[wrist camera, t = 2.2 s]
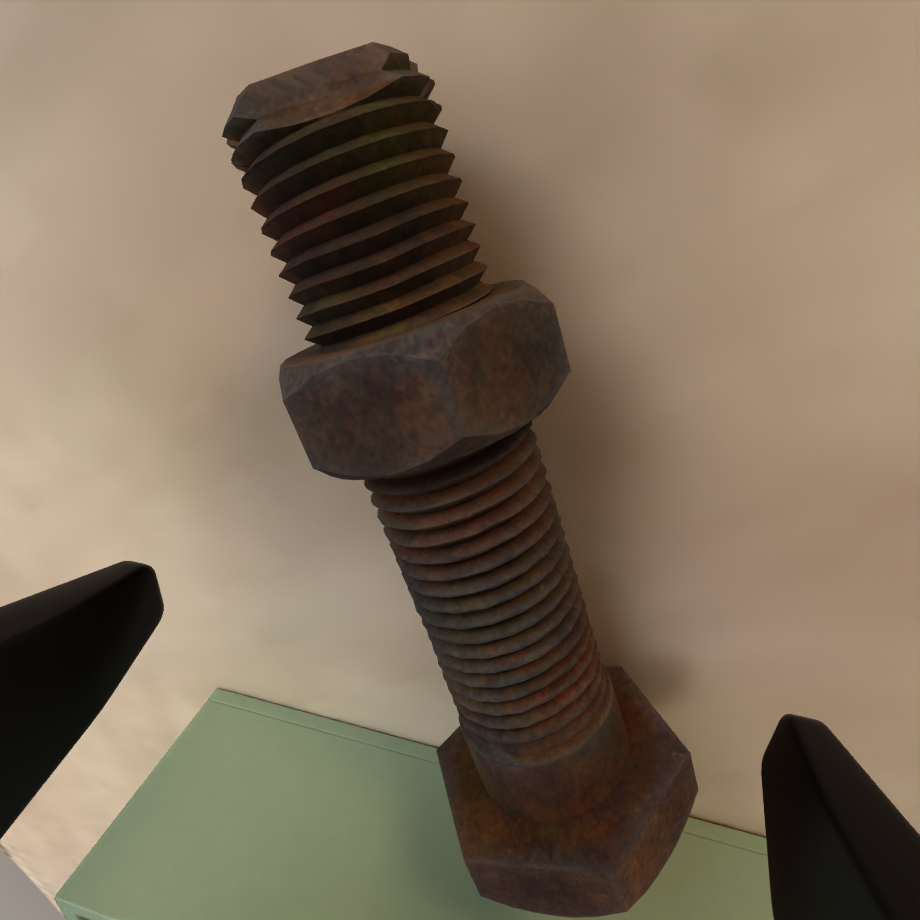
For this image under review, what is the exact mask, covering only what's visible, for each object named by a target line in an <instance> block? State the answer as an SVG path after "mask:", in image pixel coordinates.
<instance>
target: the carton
mask: <svg viewBox="0 0 920 920" xmlns="http://www.w3.org/2000/svg"><path fill="white" fill-rule="evenodd" d="M437 749H438V748H434V747H431V746H427V745H423V744H420V743H416V742H412V741H409V740H405V739H401V738H398V737H394V736H390V735H387V734H383V733H379V732H376V731H372V730H368V729H365V728H361V727H357V726H354V725H350V724H346V723H343V722H339V721H335V720H332V719H328V718H324V717H321V716H317V715H313V714H310V713H306V712H302V711H299V710H295V709H291V708H288V707H284V706H280V705H277V704H273V703H270V702H266V701H262V700H259V699H255V698H251V697H248V696H244V695H240V694H237V693H233V692H229V691H226V690H222V689H216V690H215V691H214V693H213V694H212V695H211V697H210V698H209V700H208V701H207V702H206V703H205V704H204V705H203V707H202V708H201V709H200V711H199V712H198V713H197V714H196V716H195V717H194V718H193V720H192V721H191V722H190V723H189V725H188V726H187V727H186V729H185V730H184V731H183V732H182V734H181V735H180V736H179V738H178V739H177V740H176V741H175V743H174V744H173V745H172V747H171V748H170V749H169V750H168V752H167V753H166V754H165V756H164V757H163V758H162V759H161V761H160V762H159V763H158V765H157V766H156V767H155V768H154V770H153V771H152V772H151V774H150V775H149V776H148V777H147V779H146V780H145V781H144V783H143V784H142V785H141V786H140V788H139V789H138V790H137V792H136V793H135V794H134V795H133V797H132V798H131V799H130V800H129V802H128V803H127V804H126V806H125V807H124V808H123V809H122V811H121V812H120V813H119V815H118V816H117V817H116V818H115V820H114V821H113V822H112V824H111V825H110V826H109V827H108V829H107V830H106V831H105V833H104V834H103V835H102V836H101V838H100V839H99V840H98V842H97V843H96V844H95V845H94V847H93V848H92V849H91V851H90V852H89V853H88V854H87V856H86V857H85V858H84V860H83V861H82V862H81V863H80V865H79V866H78V867H77V869H76V870H75V871H74V872H73V874H72V875H71V876H70V878H69V879H68V880H67V881H66V883H65V884H64V885H63V887H62V888H61V889H60V890H59V892H58V893H57V894H56V896H55V897H54V899H55V901H56V903H57V904H58V906H59V908H60V909H61V911H62V913H63V915H64V917H65V919H66V920H774V918H773V911H772V903H771V893H770V881H769V868H768V855H767V842H766V838H764V837H760V836H757V835H753V834H749V833H746V832H742V831H738V830H735V829H731V828H727V827H724V826H720V825H716V824H713V823H709V822H705V821H702V820H698V819H694V818H691V817H689V818H688V821H687V823H686V825H685V828H684V830H683V832H682V834H681V837H680V839H679V841H678V844H677V846H676V847H675V849H674V851H673V852H672V854H671V856H670V857H669V859H668V861H667V862H666V864H665V866H664V867H663V869H662V870H661V872H660V874H659V875H658V877H657V878H656V879H655V881H654V882H653V884H652V885H651V886H650V888H649V889H648V890H647V892H646V893H645V894H644V895H643V896H642V897H641V898H640V899H639V900H638V901H637V902H636V903H635V904H634V905H633V906H632V907H631V908H630V909H629V910H628V911H627V912H623V913H617V914H612V915H606V916H600V917H584V918H568V917H560V916H552V915H546V914H540V913H534V912H530V911H525V910H521V909H517V908H512V907H509V906H507V905H504V904H501V903H498V902H496V901H493V900H490V899H487V898H484V897H482V896H480V894H479V892H478V890H477V888H476V885H475V883H474V881H473V879H472V877H471V875H470V873H469V871H468V869H467V866H466V864H465V862H464V859H463V855H462V851H461V848H460V844H459V840H458V836H457V832H456V828H455V824H454V820H453V816H452V812H451V808H450V804H449V800H448V796H447V792H446V788H445V784H444V780H443V776H442V772H441V768H440V764H439V760H438V756H437V752H436V750H437Z"/></svg>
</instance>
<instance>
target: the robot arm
mask: <svg viewBox="0 0 920 920" xmlns="http://www.w3.org/2000/svg"><path fill="white" fill-rule="evenodd" d="M163 611H164V604H163V600H162V596H161V592H160V588H159V584H158V580H157V577H156V573H155V571H154V569H153V568H152V567H151V566H149V565H146V564H141V563H137V562H133V561H123V562H120V563H117V564H114V565H112V566H109V567H106V568H104V569H101V570H98V571H96V572H93V573H90V574H88V575H85V576H82V577H80V578H77V579H74V580H72V581H69V582H66V583H64V584H61V585H58V586H56V587H53V588H50V589H48V590H45V591H42V592H40V593H37V594H34V595H32V596H29V597H26V598H24V599H21V600H18V601H16V602H13V603H10V604H8V605H5V606H2V607H0V839H1V838H2V837H3V835H4V834H5V833H6V831H7V830H8V829H9V828H10V826H11V825H12V824H13V823H14V821H15V820H16V819H17V817H18V816H19V815H20V814H21V812H22V811H23V810H24V809H25V807H26V806H27V805H28V803H29V802H30V801H31V800H32V798H33V797H34V796H35V795H36V793H37V792H38V791H39V789H40V788H41V787H42V786H43V784H44V783H45V782H46V781H47V779H48V778H49V777H50V775H51V774H52V773H53V772H54V770H55V769H56V768H57V767H58V765H59V764H60V763H61V762H62V760H63V759H64V758H65V756H66V755H67V754H68V753H69V751H70V750H71V749H72V748H73V746H74V745H75V744H76V742H77V741H78V740H79V739H80V737H81V736H82V735H83V734H84V732H85V731H86V730H87V728H88V727H89V726H90V725H91V723H92V722H93V721H94V719H95V718H96V717H97V715H98V714H99V713H100V711H101V710H102V709H103V707H104V706H105V704H106V703H107V701H108V700H109V698H110V697H111V696H112V694H113V693H114V691H115V689H116V688H117V686H118V685H119V683H120V682H121V680H122V679H123V677H124V676H125V674H126V673H127V671H128V670H129V668H130V666H131V665H132V663H133V662H134V660H135V659H136V657H137V656H138V654H139V653H140V651H141V650H142V648H143V647H144V645H145V644H146V642H147V640H148V639H149V637H150V636H151V634H152V633H153V631H154V630H155V628H156V627H157V625H158V624H159V622H160V620H161V618H162V615H163ZM761 774H762V788H763V802H764V815H765V828H766V842H767V855H768V868H769V881H770V893H771V903H772V911H773V918H774V920H920V835H919V834H918V833H917V832H916V830H915V829H914V828H913V827H912V826H911V825H910V823H909V822H908V821H907V820H906V819H905V818H904V816H903V815H902V814H901V813H900V812H899V810H898V809H897V808H896V807H895V806H894V805H893V803H892V802H891V801H890V800H889V799H888V798H887V796H886V795H885V794H884V793H883V792H882V790H881V789H880V788H879V787H878V786H877V785H876V783H875V782H874V781H873V780H872V779H871V778H870V776H869V775H868V774H867V773H866V772H865V770H864V769H863V768H862V767H861V766H860V765H859V763H858V762H857V761H856V760H855V759H854V758H853V756H852V755H851V754H850V753H849V752H848V750H847V749H846V748H845V747H844V746H843V745H842V743H841V742H840V741H839V740H838V739H837V738H836V736H835V735H834V734H833V733H832V732H831V730H830V729H829V728H828V727H827V726H826V725H825V724H823V723H822V722H820V721H818V720H814V719H810V718H806V717H801V716H797V715H793V714H786V715H784V716H783V717H782V718H781V719H780V721H779V723H778V725H777V727H776V729H775V731H774V734H773V736H772V738H771V740H770V742H769V744H768V746H767V749H766V751H765V753H764V756H763V760H762V770H761Z"/></svg>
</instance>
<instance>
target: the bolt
mask: <svg viewBox="0 0 920 920" xmlns="http://www.w3.org/2000/svg"><path fill="white" fill-rule="evenodd" d="M434 85H435V82H434V80H432V79H430V77H429V76H427V75H424V74H421V73H418V67H417V64H416V63H414V62H411V61H409V56H408V54H407V53H404V52H402V51H400V50H397V49H395V48H393V47H390V46H386V45H382V44H378V43H374V42H372V43H368V44H365V45H362V46H359V47H356V48H353V49H350V50H347V51H344V52H341V53H338V54H335V55H332V56H329V57H326V58H323V59H320V60H317V61H314V62H311V63H308V64H306V65H303V66H300V67H297V68H294V69H292V70H289V71H286V72H283V73H281V74H278V75H275V76H272V77H269V78H267V79H264V80H261V81H258V82H256V83H253V84H250V85H248V86H247V87H246V88H245V89H244V90H243V91H242V92H241V93H240V94H239V95H238V96H237V98H236V101H235V104H234V106H233V109H232V112H231V114H230V116H229V118H228V121H227V123H226V125H225V128H224V132H223V135H222V137H224V138H227V144H228V145H229V146H230V147H231V148H234V149H235V151H234V153H233V156H232V159H231V161H232V164H233V165H234V166H235V167H236V168H237V169H239V170H242V171H244V172H246V173H245V175H244V176H243V178H242V179H241V180H242V184H243V188H244V189H246V190H248V191H249V192H251V193H253V194H255V195H257V197H256V199H255V201H254V203H253V205H252V207H251V209H252V210H254V211H255V212H257V213H258V214H260V215H262V216H264V217H265V218H267V220H266V222H265V223H264V225H263V226H262V228H261V230H262V234H263V235H266V236H268V237H270V238H272V239H274V240H277V241H278V242H277V243H276V245H275V246H274V248H273V249H272V251H271V256H272V257H275V258H277V259H279V260H282V261H284V262H286V263H287V264H286V265H285V267H284V269H283V270H282V272H281V273H280V275H279V277H281V278H283V279H285V280H287V281H289V282H291V283H294V284H296V285H295V287H294V289H293V291H292V292H291V294H290V296H289V299H291V300H293V301H295V302H298V303H300V304H302V305H304V307H303V308H302V310H301V312H300V313H299V315H298V316H297V318H296V319H297V320H300V321H302V322H304V323H306V324H309V325H311V326H312V328H311V330H310V331H309V333H308V334H307V336H306V338H305V340H307V341H310V342H313V343H316V344H315V345H313V346H311V347H309V348H307V349H305V350H303V351H300V352H298V353H297V354H295V355H293V356H291V357H290V358H288V359H286V360H285V361H284V362H283V363H282V364H281V365H280V374H279V381H280V386H281V391H282V396H283V402H284V404H285V406H286V408H287V411H288V413H289V415H290V417H291V420H292V422H293V424H294V426H295V429H296V431H297V433H298V436H299V438H300V440H301V442H302V445H303V447H304V449H305V451H306V454H307V456H308V458H309V460H310V463H311V465H312V467H313V469H316V470H318V471H321V472H323V473H325V474H327V475H330V476H333V477H336V478H340V479H348V480H365V482H364V485H365V487H366V488H367V489H368V490H370V491H372V492H373V493H372V495H371V502H372V504H373V505H374V506H376V507H377V508H379V510H378V518H379V520H380V521H381V523H382V524H383V525H385V526H384V529H383V530H384V533H385V535H386V536H387V538H388V540H389V541H391V542H390V546H391V548H392V550H393V552H394V554H395V556H396V561H397V563H398V565H399V567H400V569H401V571H402V575H403V577H404V580H405V582H406V584H407V586H408V590H409V592H410V594H411V596H412V598H413V600H414V604H415V607H416V610H417V612H418V613H419V615H420V616H421V617H422V623H423V625H424V626H425V628H426V629H427V632H428V636H429V639H430V640H431V642H432V645H433V649H434V652H435V654H436V655H437V657H438V664H439V666H440V667H441V669H442V672H443V677H444V679H445V680H446V681H447V685H448V689H449V691H450V693H451V694H452V697H453V701H454V704H455V705H456V706H457V710H458V713H459V722H460V726H459V727H458V728H457V729H456V730H455V731H454V732H453V733H452V735H451V736H450V737H449V738H448V739H447V740H446V741H445V742H444V743H443V744H442V745H441V746H440V747H439V748H438V749H437V750H436V752H437V756H438V760H439V764H440V768H441V772H442V776H443V780H444V784H445V788H446V792H447V796H448V800H449V804H450V808H451V812H452V816H453V820H454V824H455V828H456V832H457V836H458V840H459V844H460V848H461V851H462V855H463V859H464V862H465V864H466V866H467V869H468V871H469V873H470V875H471V877H472V879H473V881H474V883H475V885H476V888H477V890H478V892H479V894H480V896H482V897H484V898H487V899H490V900H493V901H496V902H498V903H501V904H504V905H507V906H509V907H512V908H517V909H521V910H525V911H530V912H534V913H540V914H546V915H552V916H560V917H568V918H584V917H600V916H606V915H612V914H617V913H623V912H627V911H628V910H629V909H630V908H631V907H632V906H633V905H634V904H635V903H636V902H637V901H638V900H639V899H640V898H641V897H642V896H643V895H644V894H645V893H646V892H647V890H648V889H649V888H650V886H651V885H652V884H653V882H654V881H655V879H656V878H657V877H658V875H659V874H660V872H661V870H662V869H663V867H664V866H665V864H666V862H667V861H668V859H669V857H670V856H671V854H672V852H673V851H674V849H675V847H676V846H677V844H678V841H679V839H680V837H681V834H682V832H683V830H684V828H685V825H686V823H687V821H688V818H689V815H690V812H691V809H692V806H693V804H694V801H695V798H696V795H697V792H698V786H697V782H696V777H695V773H694V768H693V764H692V760H691V755H690V752H689V751H688V750H687V749H686V747H685V746H684V745H683V744H682V742H681V741H680V740H679V739H678V737H677V736H676V735H675V733H674V732H673V731H672V730H671V728H670V727H669V726H668V725H667V723H666V722H665V721H664V720H663V718H662V717H661V716H660V715H659V713H658V712H657V711H656V710H655V708H654V707H653V706H652V705H651V703H650V702H649V701H648V700H647V698H646V697H645V696H644V695H643V693H642V692H641V691H640V690H639V688H638V687H637V686H636V685H635V683H634V682H633V681H632V680H631V678H630V677H629V676H628V675H627V673H626V672H625V671H624V670H623V668H622V667H605V666H604V665H603V664H602V662H601V657H600V654H599V652H598V649H597V644H596V640H595V639H594V635H593V630H592V627H591V625H590V623H589V619H588V616H587V612H586V605H585V602H584V600H583V598H582V591H581V589H580V587H579V584H578V578H577V575H576V573H575V570H574V567H573V561H572V559H571V556H570V553H569V547H568V545H567V542H566V540H565V532H564V530H563V529H562V527H561V518H560V516H559V514H558V512H557V508H556V503H555V501H554V498H553V496H552V494H551V484H550V483H549V482H548V481H547V479H546V471H547V470H546V468H545V466H544V465H543V464H542V462H541V457H542V455H541V451H540V449H539V448H538V447H537V446H536V441H537V438H536V434H535V432H534V431H533V430H532V429H530V428H531V426H532V420H533V419H534V418H536V417H537V416H539V415H540V414H541V413H542V412H543V411H544V410H545V409H546V408H547V407H548V406H549V404H550V403H551V401H552V400H553V398H554V397H555V395H556V393H557V392H558V390H559V389H560V387H561V385H562V384H563V382H564V380H565V379H566V377H567V376H568V374H569V372H570V371H571V370H570V366H569V362H568V358H567V354H566V350H565V346H564V342H563V339H562V335H561V331H560V327H559V323H558V319H557V315H556V311H555V307H554V304H553V303H552V302H551V301H550V300H549V299H548V298H547V297H546V296H544V295H543V294H542V293H541V292H540V291H539V290H537V289H536V288H535V287H533V286H532V285H530V284H528V283H526V282H524V281H522V280H514V281H505V282H501V283H496V284H492V285H488V284H485V283H483V282H480V279H481V277H482V275H483V273H484V272H485V270H486V268H487V265H484V264H481V263H478V262H476V261H473V260H474V258H475V256H476V254H477V252H478V250H479V248H480V245H479V244H476V243H473V242H471V241H468V240H467V239H468V238H469V236H470V234H471V232H472V230H473V228H474V226H475V224H473V223H470V222H466V221H463V220H460V219H461V217H462V215H463V213H464V211H465V209H466V207H467V206H468V204H469V203H468V202H466V201H463V200H460V199H457V198H455V195H456V193H457V191H458V189H459V187H460V184H461V182H462V180H461V179H460V178H458V177H455V176H452V175H449V174H448V172H449V170H450V167H451V165H452V163H453V160H454V158H455V155H454V154H453V153H450V152H447V151H445V150H442V149H441V147H442V144H443V142H444V140H445V137H446V135H447V132H448V130H446V129H444V128H441V127H439V126H437V125H434V122H435V121H436V119H437V117H438V115H439V114H440V112H441V110H442V107H441V105H439V104H437V103H436V102H435V101H432V100H429V99H428V97H429V95H430V93H431V91H432V90H433V87H434Z"/></svg>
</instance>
